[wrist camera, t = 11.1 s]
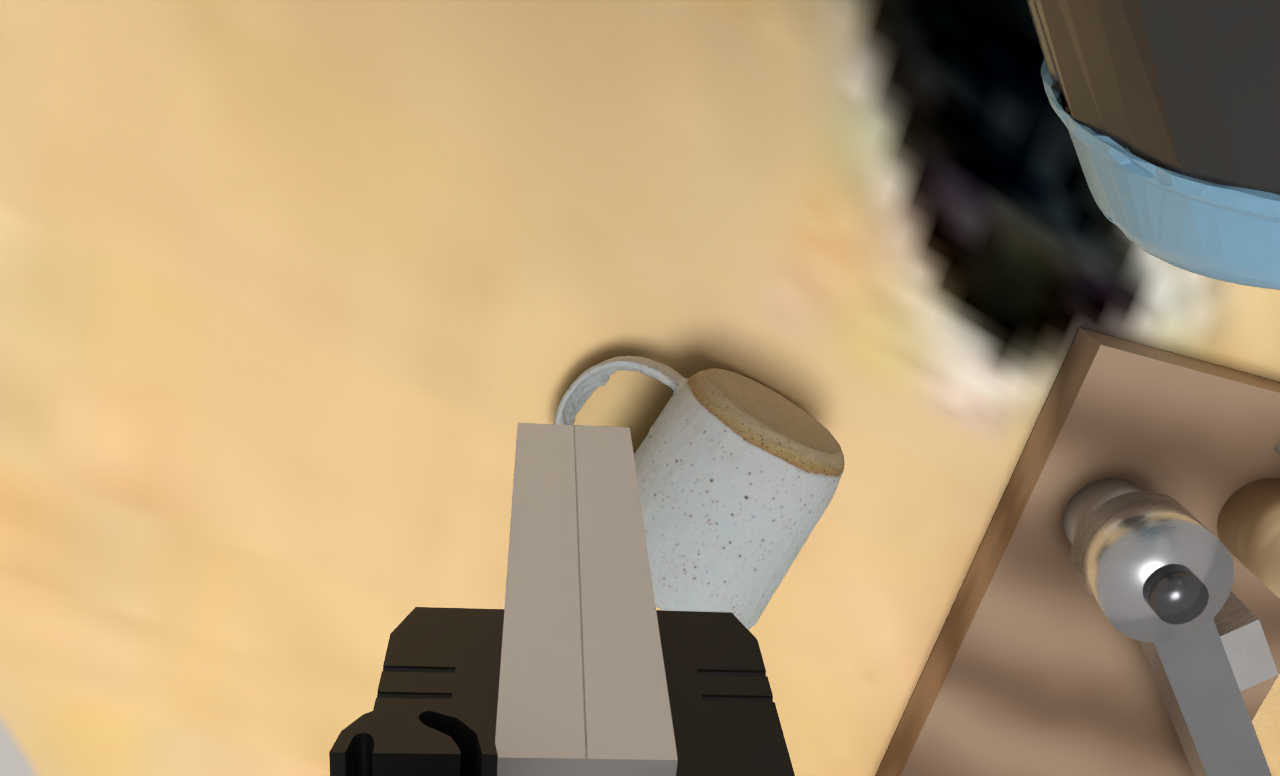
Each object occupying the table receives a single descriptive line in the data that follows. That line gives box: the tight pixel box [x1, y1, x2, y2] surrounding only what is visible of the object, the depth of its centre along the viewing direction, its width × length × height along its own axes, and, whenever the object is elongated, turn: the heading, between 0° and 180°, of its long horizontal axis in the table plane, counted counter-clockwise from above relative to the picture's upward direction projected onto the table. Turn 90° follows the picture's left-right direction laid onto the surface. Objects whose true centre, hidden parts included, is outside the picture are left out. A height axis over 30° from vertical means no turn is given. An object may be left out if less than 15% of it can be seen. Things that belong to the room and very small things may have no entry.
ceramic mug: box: [554, 356, 844, 630], centre depth 45 cm, size 11×8×8 cm
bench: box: [876, 328, 1280, 776], centre depth 52 cm, size 32×15×6 cm, turn 164°
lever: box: [1071, 491, 1278, 776], centre depth 49 cm, size 26×5×5 cm, turn 27°
